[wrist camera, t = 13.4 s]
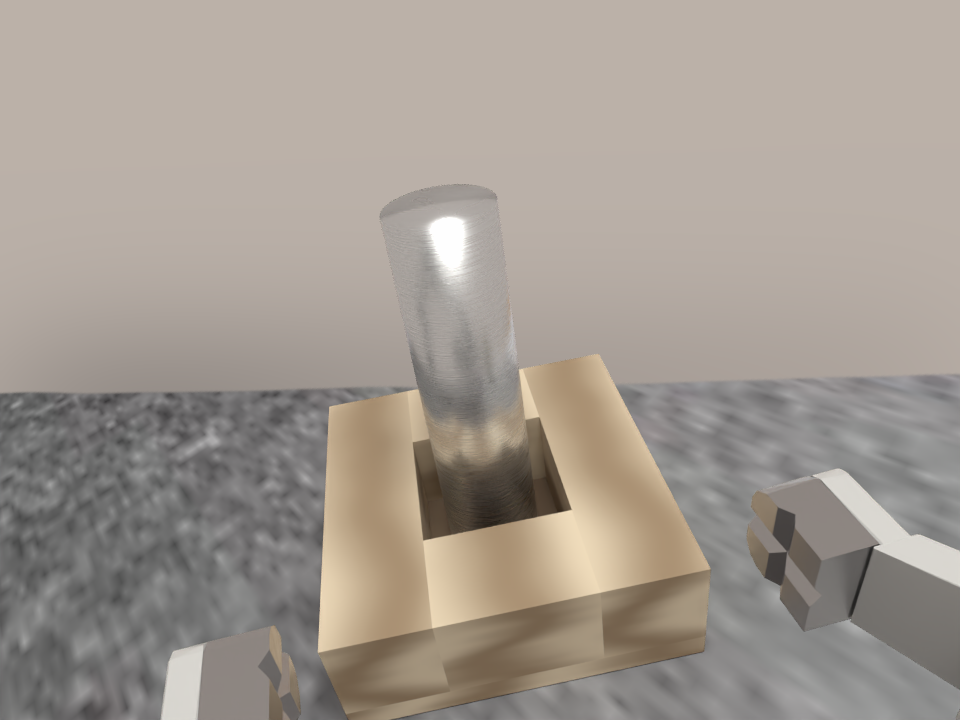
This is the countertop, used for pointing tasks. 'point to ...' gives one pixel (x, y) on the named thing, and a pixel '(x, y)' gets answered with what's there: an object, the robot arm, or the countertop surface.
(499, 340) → the pin
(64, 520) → the countertop surface
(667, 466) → the countertop surface
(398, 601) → the socket block
